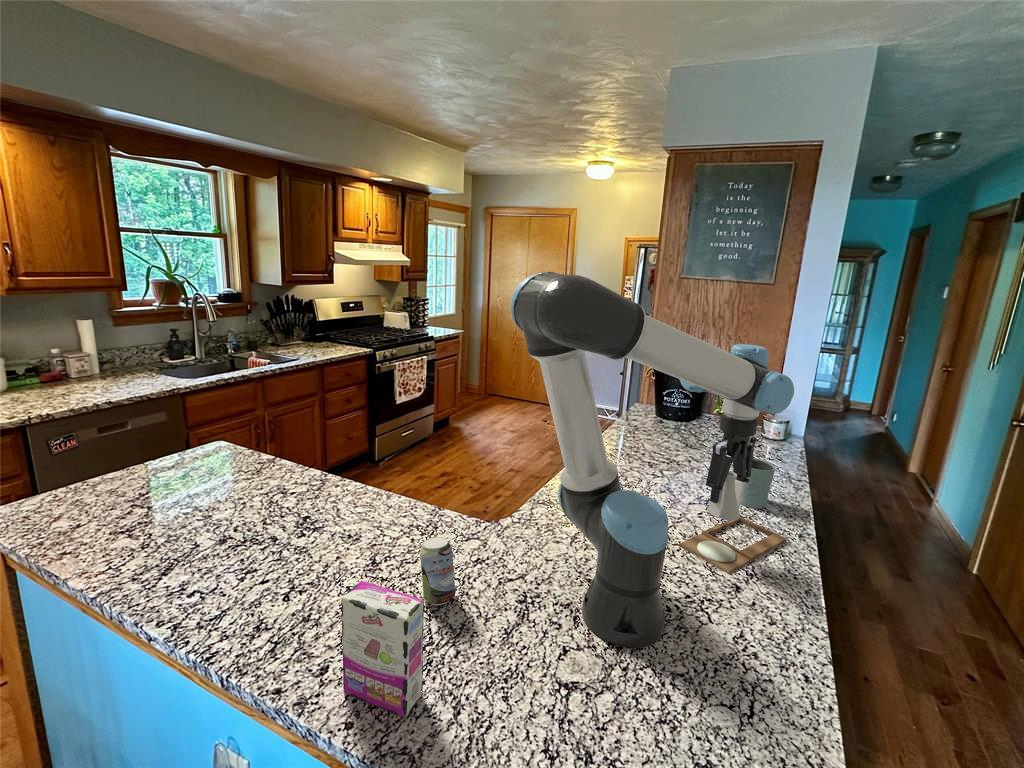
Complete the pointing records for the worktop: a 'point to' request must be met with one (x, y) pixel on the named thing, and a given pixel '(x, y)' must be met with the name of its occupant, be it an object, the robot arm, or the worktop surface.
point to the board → (726, 554)
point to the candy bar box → (383, 647)
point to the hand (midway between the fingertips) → (723, 510)
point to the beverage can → (437, 570)
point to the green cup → (758, 484)
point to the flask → (729, 499)
